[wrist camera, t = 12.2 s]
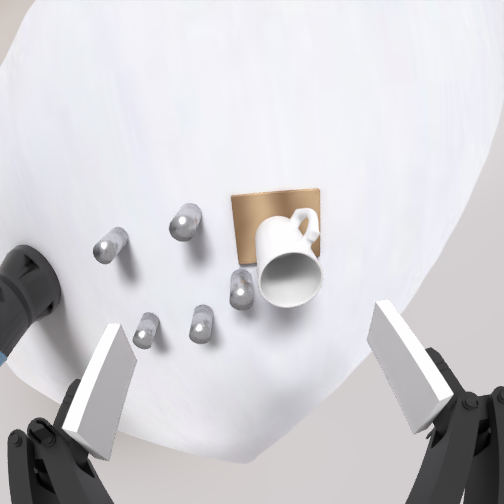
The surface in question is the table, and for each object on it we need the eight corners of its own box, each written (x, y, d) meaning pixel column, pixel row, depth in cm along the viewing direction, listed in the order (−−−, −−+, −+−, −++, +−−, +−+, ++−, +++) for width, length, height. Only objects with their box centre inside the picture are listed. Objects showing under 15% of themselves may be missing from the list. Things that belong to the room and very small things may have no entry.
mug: (285, 265, 40) (300, 315, 30) (244, 246, 39) (246, 294, 28) (321, 207, 37) (353, 240, 26) (279, 184, 35) (297, 209, 24)
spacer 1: (113, 247, 39) (97, 265, 34) (108, 228, 38) (90, 244, 32) (130, 245, 39) (115, 263, 34) (125, 225, 38) (109, 241, 32)
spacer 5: (232, 288, 43) (231, 311, 38) (229, 270, 42) (228, 292, 36) (252, 286, 43) (254, 309, 38) (250, 268, 42) (252, 289, 36)
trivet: (239, 261, 41) (239, 264, 40) (231, 195, 37) (230, 197, 36) (318, 253, 41) (319, 256, 40) (318, 188, 37) (319, 190, 36)
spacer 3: (181, 226, 38) (171, 242, 33) (177, 204, 37) (166, 218, 32) (203, 223, 38) (196, 240, 33) (199, 202, 37) (192, 215, 32)
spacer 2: (145, 326, 46) (136, 349, 41) (140, 312, 45) (130, 334, 39) (161, 326, 46) (153, 349, 41) (156, 312, 45) (147, 334, 39)
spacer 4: (196, 320, 46) (191, 344, 40) (192, 305, 44) (186, 329, 39) (214, 319, 46) (211, 343, 40) (211, 304, 44) (207, 328, 39)
